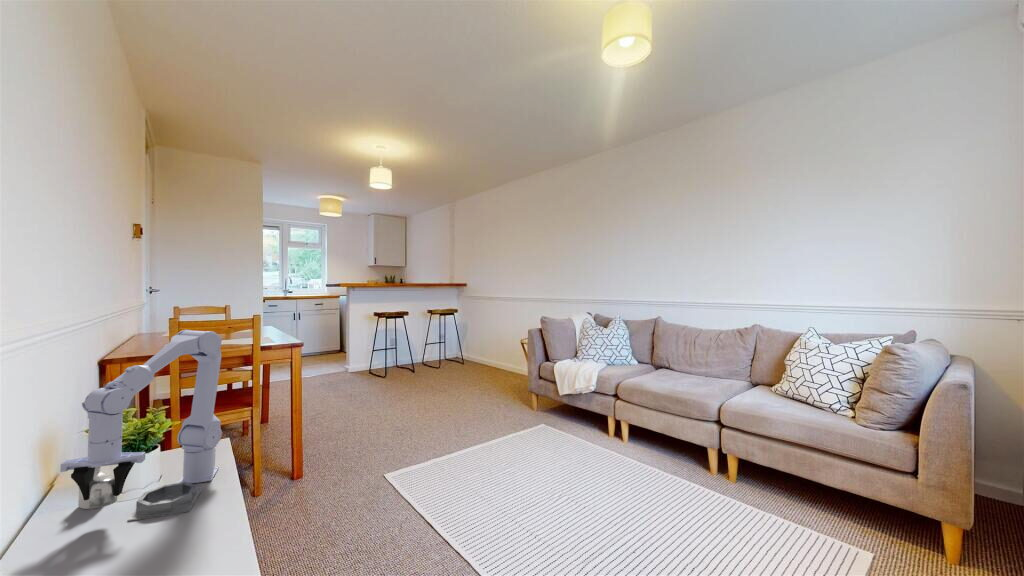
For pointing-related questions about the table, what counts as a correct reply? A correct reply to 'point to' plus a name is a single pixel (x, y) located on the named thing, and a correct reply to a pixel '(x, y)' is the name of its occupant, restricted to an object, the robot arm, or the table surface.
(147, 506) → the collar
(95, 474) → the eye dropper bottle
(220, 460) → the table surface
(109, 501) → the silver short rounded cylinder
